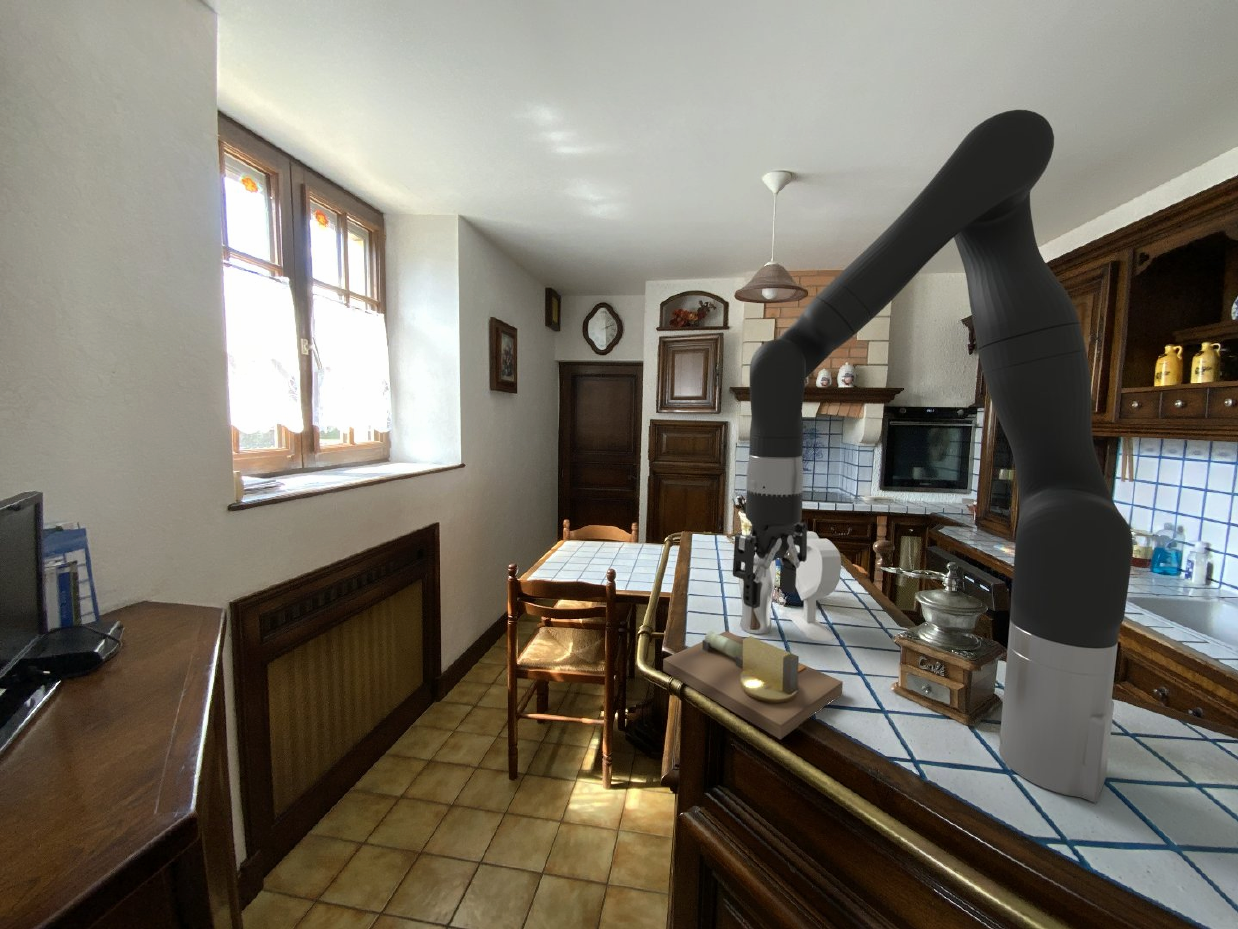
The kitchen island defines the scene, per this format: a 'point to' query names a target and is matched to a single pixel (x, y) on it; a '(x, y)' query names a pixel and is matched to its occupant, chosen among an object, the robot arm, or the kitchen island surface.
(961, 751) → the kitchen island surface
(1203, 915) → the kitchen island surface
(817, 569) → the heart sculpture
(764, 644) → the wing knob
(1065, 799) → the kitchen island surface
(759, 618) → the beer glass
